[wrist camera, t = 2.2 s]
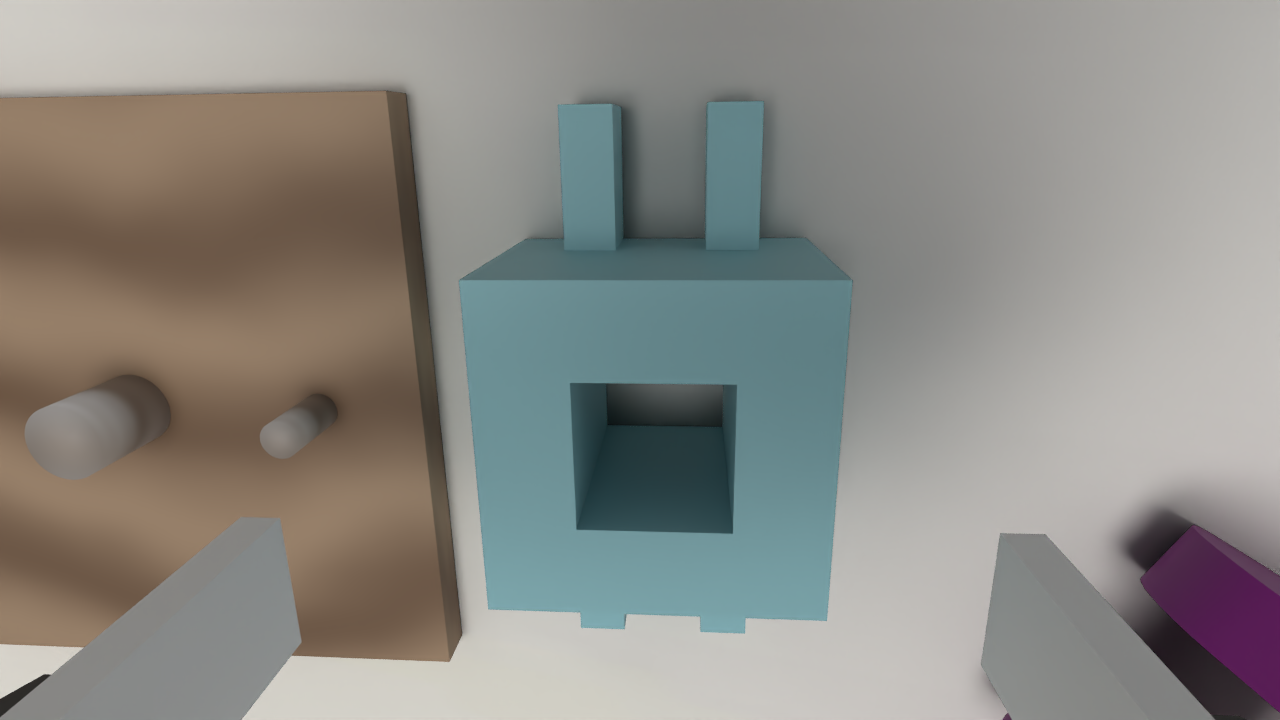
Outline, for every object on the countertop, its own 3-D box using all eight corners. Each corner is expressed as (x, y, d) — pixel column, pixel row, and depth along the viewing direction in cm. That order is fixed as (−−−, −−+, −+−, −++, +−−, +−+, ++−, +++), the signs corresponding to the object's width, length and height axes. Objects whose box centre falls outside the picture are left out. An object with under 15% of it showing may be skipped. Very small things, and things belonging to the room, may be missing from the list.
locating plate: (-185, 104, 24) (-378, 97, 19) (405, 93, 22) (337, 83, 18) (-13, 617, 30) (-131, 699, 25) (461, 635, 28) (420, 724, 24)
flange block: (518, 108, 22) (442, 97, 16) (813, 103, 22) (866, 89, 15) (546, 583, 27) (499, 727, 21) (786, 590, 27) (817, 742, 20)
